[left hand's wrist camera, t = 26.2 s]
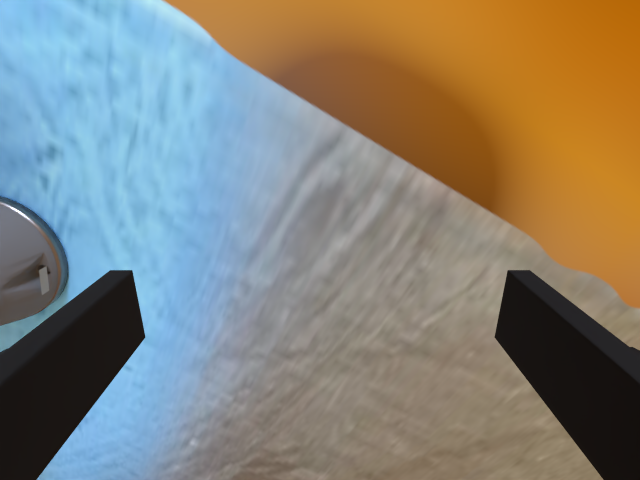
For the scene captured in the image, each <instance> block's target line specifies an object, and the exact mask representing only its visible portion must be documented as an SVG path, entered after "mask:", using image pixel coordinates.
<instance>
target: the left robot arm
mask: <svg viewBox="0 0 640 480" xmlns="http://www.w3.org/2000/svg"><path fill="white" fill-rule="evenodd" d="M67 275H68V267H67V260H66V256H65V252H64V250H63V247H62V245H61V243H60V241H59V239H58V238H57V236H56V235H55V233H54V232H53V231H52V229H51V228H50V227H49V226H48V225H47V224H46V223H45V222H44V221H43V220H42V219H41V218H40V217H39V216H38V215H36V214H35V213H34V212H32V211H31V210H30V209H28V208H26V207H25V206H23V205H21V204H19V203H17V202H15V201H13V200H10V199H7V198H4V197H1V196H0V326H1V325H4V324H8V323H11V322H14V321H18V320H21V319H24V318H27V317H29V316H32V315H34V314H37V313H38V312H40V311H42V310H43V309H44V308H46V307H47V306H49V305H50V304H51V303H53V302H54V301H55V300H56V299H57V298H58V297H59V296H60V294H61V293H62V291H63V289H64V287H65V284H66V281H67ZM144 338H145V333H144V328H143V323H142V318H141V313H140V308H139V302H138V297H137V292H136V287H135V282H134V277H133V272H132V270H110V271H109V272H108V273H106V274H105V275H104V276H102V277H101V278H100V279H98V280H97V281H96V282H95V283H93V284H92V285H91V286H89V287H88V288H87V289H85V290H84V291H83V292H82V293H80V294H79V295H78V296H76V297H75V298H74V299H72V300H71V301H70V302H69V303H67V304H66V305H65V306H63V307H62V308H61V309H59V310H58V311H57V312H56V313H54V314H53V315H52V316H50V317H49V318H48V319H46V320H45V321H44V322H43V323H41V324H40V325H39V326H37V327H36V328H35V329H33V330H32V331H31V332H30V333H28V334H27V335H26V336H24V337H23V338H22V339H20V340H19V341H18V342H17V343H15V344H14V345H13V346H11V347H10V348H8V349H6V350H4V351H2V352H0V480H36V479H37V478H38V477H39V475H40V474H41V473H42V472H43V470H44V469H45V468H46V466H47V465H48V464H49V462H50V461H51V460H52V459H53V457H54V456H55V455H56V453H57V452H58V451H59V449H60V448H61V447H62V445H63V444H64V443H65V442H66V440H67V439H68V438H69V436H70V435H71V434H72V432H73V431H74V430H75V428H76V427H77V426H78V425H79V423H80V422H81V421H82V419H83V418H84V417H85V415H86V414H87V413H88V411H89V410H90V409H91V408H92V406H93V405H94V404H95V402H96V401H97V400H98V398H99V397H100V396H101V394H102V393H103V392H104V391H105V389H106V388H107V387H108V385H109V384H110V383H111V381H112V380H113V379H114V377H115V376H116V375H117V374H118V372H119V371H120V370H121V368H122V367H123V366H124V364H125V363H126V362H127V361H128V359H129V358H130V357H131V355H132V354H133V353H134V351H135V350H136V349H137V347H138V346H139V345H140V344H141V342H142V341H143V340H144ZM495 338H496V340H497V341H498V342H499V344H500V345H501V346H502V347H503V349H504V350H505V351H506V353H507V354H508V355H509V357H510V358H511V359H512V361H513V362H514V363H515V364H516V366H517V367H518V368H519V370H520V371H521V372H522V374H523V375H524V376H525V377H526V379H527V380H528V381H529V383H530V384H531V385H532V387H533V388H534V389H535V391H536V392H537V393H538V394H539V396H540V397H541V398H542V400H543V401H544V402H545V404H546V405H547V406H548V408H549V409H550V410H551V411H552V413H553V414H554V415H555V417H556V418H557V419H558V421H559V422H560V423H561V425H562V426H563V427H564V428H565V430H566V431H567V432H568V434H569V435H570V436H571V438H572V439H573V440H574V442H575V443H576V444H577V445H578V447H579V448H580V449H581V451H582V452H583V453H584V455H585V456H586V457H587V459H588V460H589V461H590V462H591V464H592V465H593V466H594V468H595V469H596V470H597V472H598V473H599V474H600V475H601V477H602V478H603V479H604V480H640V351H639V350H637V349H635V348H633V347H629V346H627V345H626V344H625V343H623V342H622V341H621V340H620V339H618V338H617V337H616V336H614V335H613V334H612V333H610V332H609V331H608V330H607V329H605V328H604V327H603V326H601V325H600V324H599V323H597V322H596V321H595V320H594V319H592V318H591V317H590V316H588V315H587V314H586V313H584V312H583V311H582V310H581V309H579V308H578V307H577V306H575V305H574V304H573V303H571V302H570V301H569V300H568V299H566V298H565V297H564V296H562V295H561V294H560V293H558V292H557V291H556V290H555V289H553V288H552V287H551V286H549V285H548V284H547V283H545V282H544V281H543V280H542V279H540V278H539V277H538V276H536V275H535V274H534V273H532V272H531V271H530V270H508V272H507V277H506V282H505V287H504V292H503V297H502V302H501V308H500V313H499V318H498V323H497V328H496V333H495Z"/></svg>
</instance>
